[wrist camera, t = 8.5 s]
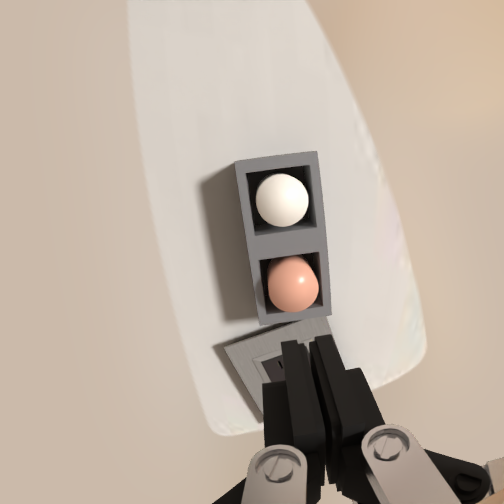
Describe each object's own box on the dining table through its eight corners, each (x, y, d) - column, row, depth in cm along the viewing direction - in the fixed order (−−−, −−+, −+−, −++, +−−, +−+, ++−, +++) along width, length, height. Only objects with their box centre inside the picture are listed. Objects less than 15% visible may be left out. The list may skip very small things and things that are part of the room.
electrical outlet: (350, 389, 36) (355, 401, 33) (270, 416, 37) (270, 429, 35) (320, 302, 32) (324, 313, 30) (225, 337, 33) (223, 349, 31)
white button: (252, 175, 28) (252, 178, 24) (298, 169, 28) (305, 172, 24) (259, 220, 29) (260, 230, 25) (303, 214, 29) (311, 223, 25)
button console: (236, 160, 28) (234, 161, 24) (308, 151, 28) (317, 151, 24) (259, 305, 32) (259, 325, 28) (323, 296, 32) (331, 315, 28)
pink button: (264, 254, 29) (265, 270, 25) (308, 248, 29) (316, 263, 25) (269, 295, 30) (272, 315, 26) (312, 289, 30) (320, 308, 26)
